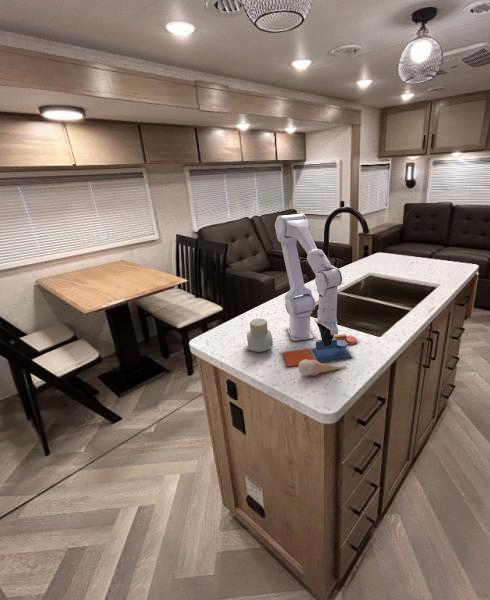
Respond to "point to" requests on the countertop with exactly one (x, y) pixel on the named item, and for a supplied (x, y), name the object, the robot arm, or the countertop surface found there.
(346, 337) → the terracotta spoon
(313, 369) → the ice cream cone
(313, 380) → the countertop surface
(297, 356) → the terracotta mat
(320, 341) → the blue spoon
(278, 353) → the countertop surface
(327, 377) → the countertop surface
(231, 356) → the countertop surface
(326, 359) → the blue mat
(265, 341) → the air freshener
